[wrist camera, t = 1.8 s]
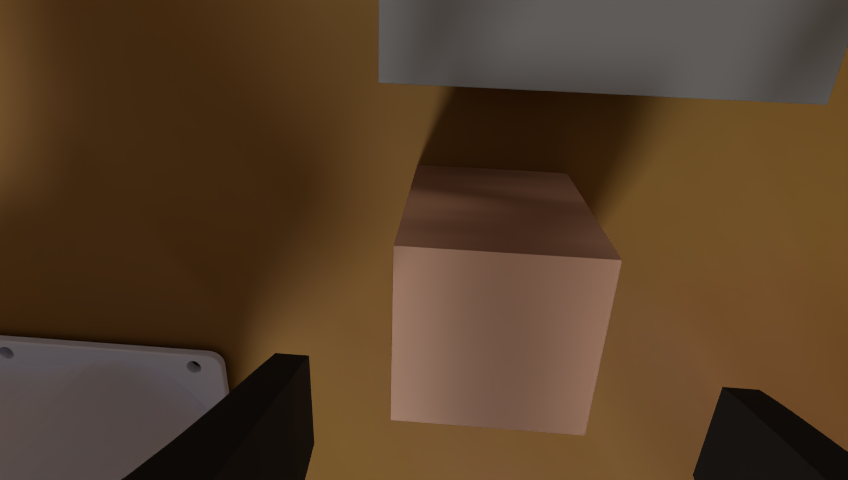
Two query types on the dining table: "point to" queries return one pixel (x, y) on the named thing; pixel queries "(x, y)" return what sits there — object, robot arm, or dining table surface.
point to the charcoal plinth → (619, 46)
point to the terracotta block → (499, 301)
